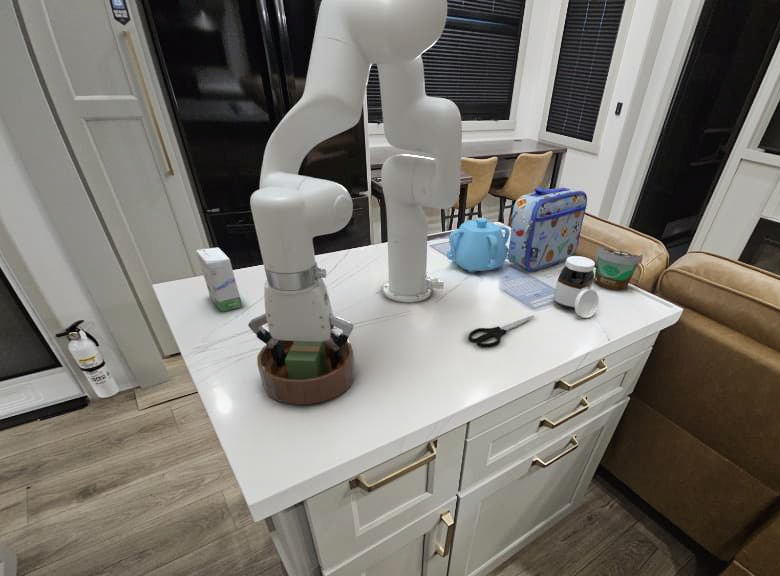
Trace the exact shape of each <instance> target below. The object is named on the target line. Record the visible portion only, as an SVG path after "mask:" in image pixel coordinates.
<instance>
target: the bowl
mask: <svg viewBox="0 0 780 576" xmlns="http://www.w3.org/2000/svg"><path fill="white" fill-rule="evenodd" d="M336 334H337V335H338V336H339V335H340V334H338V333H336ZM281 341H282V343H283V347H284V352H285V356H286V357H287V355H288V353H289V351H290V348H291V346H292V345H293V343H294V341H286V340H281ZM324 346H325V353H326V360H327V368H326V371H325V374H324V375H323V376H320V377H317V378H310V379H304V380H297V379H289V375H288V371H287V366H286V362H285V361H284V363H283V365H282V367H277V366H276V362H275V361H274V360H273V357H272V353H271V349H270V348H268V347H267V346H266V345H263V347H262V348H261V350H260V351H259V353H258V354H257V358H256V360H257V361H256V365H257V368H258V372H259V375H260V379H261V383H262V387H263V388H264V391H266V393H267V395H269V396H270V397H272V398H273V399H274V400H277V401H279V402H283V403H287V404H291V405H310V404H316V403H322V402H325V401H327V400H330V399H333V398H336V397H338V396H339V395H340V394H342V393H343V392H345V391H346V390H348V388H349V387H350V386H351V385H352V383H353V382H354V379H355V377H356V376H355V375H356V368H355V367H356V365H355V356H354V355H355V354H354V350H353V346H352V344H351V342H349V340H347V341H346V342H345V343H344V344H343V345H342V346H341V347H340V351H341V362H340V363H338V364H337V367H336V369H333V368H332V367H331V360H330V353H329V351H330V347H329V346H328V345H327V344H326V343H325V342H324Z"/></svg>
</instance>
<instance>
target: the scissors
mask: <svg viewBox="0 0 780 576" xmlns="http://www.w3.org/2000/svg"><path fill="white" fill-rule="evenodd" d="M533 318H534V315H530V316H527V317H523V318H521V319H518V320H516V321H513V322H510V323H508V324H506V325H504V326H502V327H500V326H499V325H497V326H495V327H479V328H476V329H473V330H472V331H470V333H469V334H468V337H467V338H468V342H470V343H476V346H477V347H478V348H484V349H485V348H492V347H496V346H498V345H499V344H500V343H501V339H502V337H503V336H504V335H505V334H507V331H509V330H511V329H514V328H516V327H517V326H520V325H522V324H523V323H525V322H526V323H527V321H529V320H531V319H533ZM479 333H484V334H481V335H478V337H475V338H474V337H473V336H474V335H476V334H479ZM493 338H495V339H496V340H494V341H492V342H487V341H489V340H490V339H493ZM486 342H487V343H486Z"/></svg>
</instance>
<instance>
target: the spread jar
mask: <svg viewBox="0 0 780 576" xmlns="http://www.w3.org/2000/svg"><path fill="white" fill-rule="evenodd" d="M595 265H596V263H595V261H594V260H592V259H591V258H588V257H585V256H582V255H581V256H580V255H572V256H570V257H568V258H567V259H565V266H564V267H563V268H562V269H561V271H560V273H559V276H558V278H557V281H556V286H555V289H554V295H553V302H554V304H555V305H556V306H558V308H561V309H563V310H565V311H571V312H572V311H574V312H575V314H576V315H577V316H578V317H580V318H582V319H583V318H585V319H589V318H591V317H593V316H594V314H595V313H596V312H597V310H598V308H599V302H600V301H599V300H600V298H599V295H598V293H597V292H596V291H595V290H594V289H592V287H593V283H594V277H595V272H594V269H595Z"/></svg>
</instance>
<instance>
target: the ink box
mask: <svg viewBox="0 0 780 576" xmlns="http://www.w3.org/2000/svg"><path fill="white" fill-rule="evenodd" d="M195 252H196V256H197V258H198V259H197V260H198V262H199V265H200V268H201V271H202V275H203V278H204V281H205V285H206V288H207V291H208V294H209V297H210V299H211V300H212V302H213V303H214V304H215V306H216V307H217V308H218V309H219V311H220V312H223V313H225V312H228V311H232V310H236V309H239V308H243V307H244V306H243V302H242V299H241V296H240V292H239V289H238V285H237V280H236V277H235V273H234V270H233V266H232V263H231V259H230V258H229V257H228V256H227V254H225V252H224V251H222V250H221V248H220V247H209V248H201V249H197V250H196V251H195Z"/></svg>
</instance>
